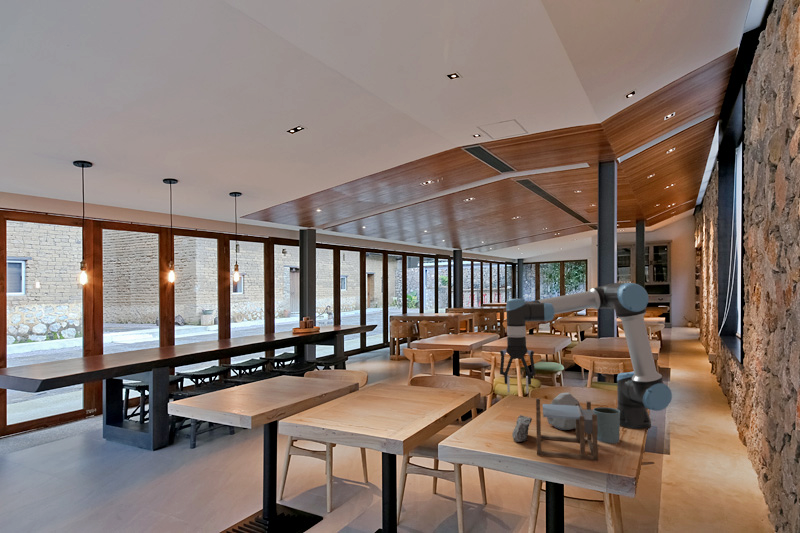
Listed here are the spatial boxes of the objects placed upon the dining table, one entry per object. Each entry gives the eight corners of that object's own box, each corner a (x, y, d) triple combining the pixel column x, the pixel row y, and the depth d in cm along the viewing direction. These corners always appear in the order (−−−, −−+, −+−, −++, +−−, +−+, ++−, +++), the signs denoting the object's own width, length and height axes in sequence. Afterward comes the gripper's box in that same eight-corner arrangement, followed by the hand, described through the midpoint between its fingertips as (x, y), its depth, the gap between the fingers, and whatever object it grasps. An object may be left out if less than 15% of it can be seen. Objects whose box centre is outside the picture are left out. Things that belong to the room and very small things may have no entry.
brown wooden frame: (591, 441, 191) (590, 401, 191) (597, 460, 170) (596, 415, 171) (536, 437, 196) (536, 398, 197) (536, 455, 176) (536, 411, 177)
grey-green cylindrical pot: (618, 445, 186) (618, 414, 187) (591, 441, 192) (590, 411, 192) (622, 438, 195) (621, 408, 195) (596, 434, 200) (595, 405, 201)
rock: (525, 445, 185) (527, 419, 187) (504, 441, 189) (506, 415, 191) (535, 441, 199) (536, 416, 201) (515, 437, 203) (517, 413, 205)
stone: (566, 422, 218) (565, 389, 218) (586, 429, 206) (586, 394, 207) (546, 425, 213) (545, 391, 214) (565, 433, 202) (565, 397, 202)
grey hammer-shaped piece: (592, 421, 189) (592, 406, 189) (598, 435, 172) (597, 418, 173) (542, 418, 194) (542, 403, 194) (543, 430, 178) (543, 414, 178)
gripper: (541, 335, 198) (542, 391, 197) (493, 334, 203) (494, 389, 202) (541, 337, 190) (543, 395, 189) (491, 336, 196) (492, 393, 195)
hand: (518, 392), depth 196 cm, fingers open, 7 cm apart
